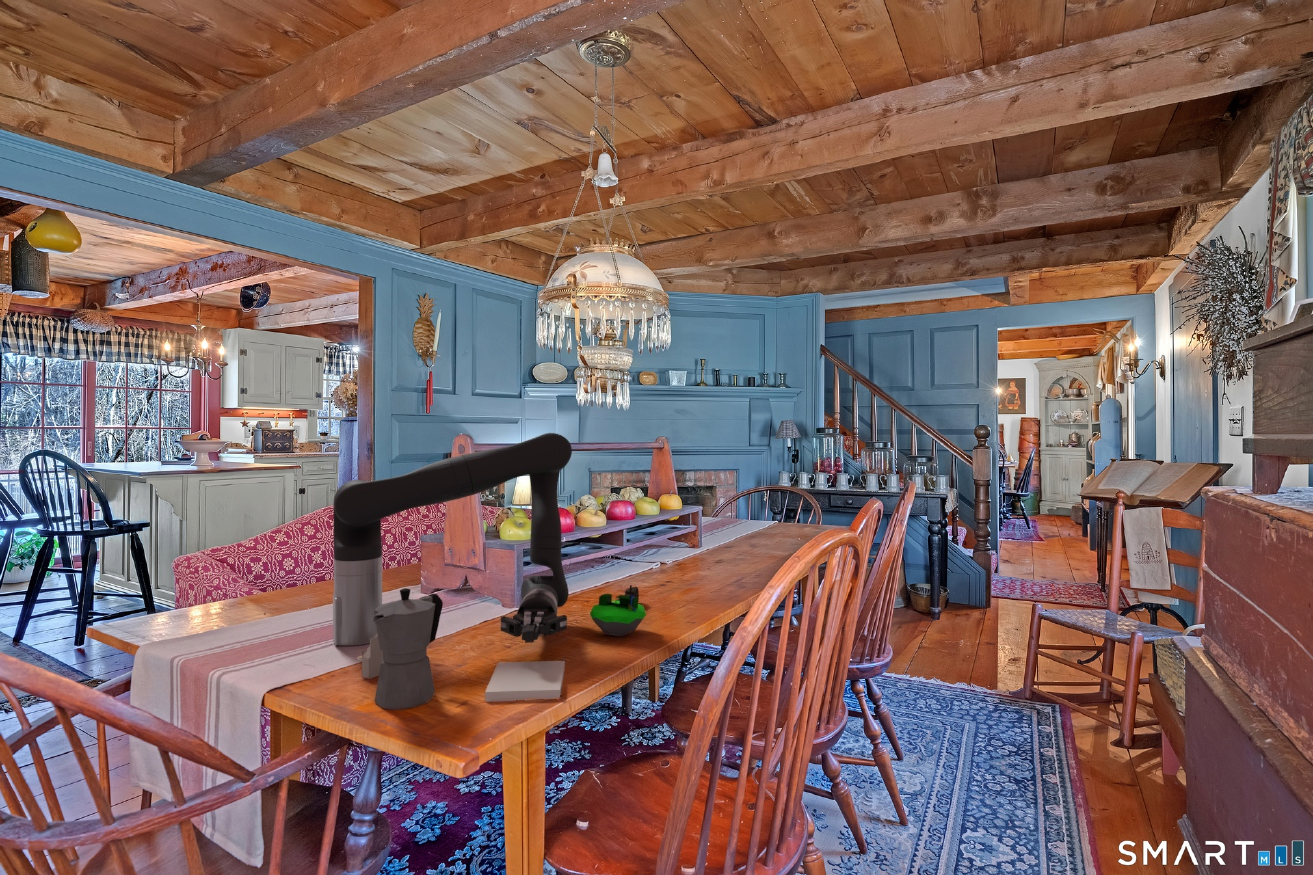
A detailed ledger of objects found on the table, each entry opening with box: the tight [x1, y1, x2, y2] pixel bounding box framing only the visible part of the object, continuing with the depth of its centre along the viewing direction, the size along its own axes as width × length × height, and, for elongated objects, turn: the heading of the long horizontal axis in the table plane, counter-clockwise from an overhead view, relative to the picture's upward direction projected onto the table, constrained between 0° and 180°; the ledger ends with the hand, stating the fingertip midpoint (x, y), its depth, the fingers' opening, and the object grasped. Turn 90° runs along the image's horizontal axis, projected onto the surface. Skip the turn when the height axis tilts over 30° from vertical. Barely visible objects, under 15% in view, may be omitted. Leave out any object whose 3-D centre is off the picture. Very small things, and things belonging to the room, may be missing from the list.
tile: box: [484, 660, 566, 703], centre depth 116 cm, size 12×2×14 cm
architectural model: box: [356, 634, 383, 680], centre depth 122 cm, size 3×7×7 cm, turn 156°
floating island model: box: [589, 584, 647, 637], centre depth 145 cm, size 12×12×11 cm
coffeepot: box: [373, 587, 444, 711], centre depth 110 cm, size 15×9×18 cm, turn 159°
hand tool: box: [614, 586, 640, 603], centre depth 163 cm, size 19×4×5 cm, turn 157°
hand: (529, 637), depth 118 cm, fingers closed
